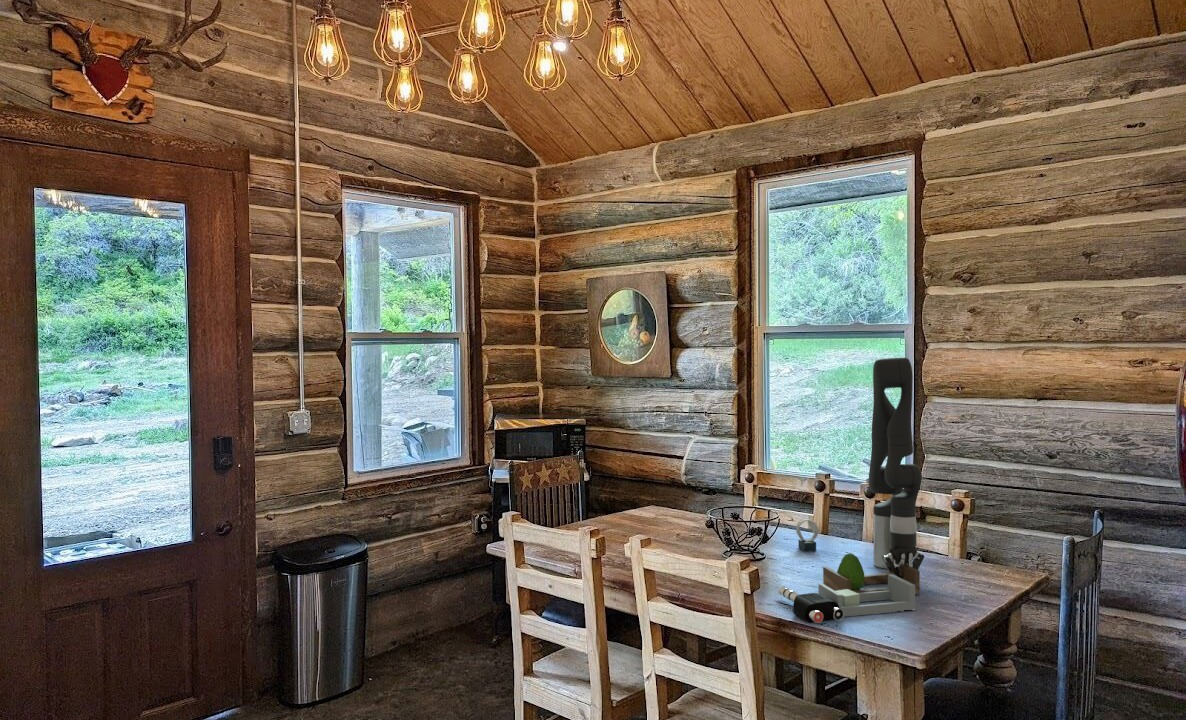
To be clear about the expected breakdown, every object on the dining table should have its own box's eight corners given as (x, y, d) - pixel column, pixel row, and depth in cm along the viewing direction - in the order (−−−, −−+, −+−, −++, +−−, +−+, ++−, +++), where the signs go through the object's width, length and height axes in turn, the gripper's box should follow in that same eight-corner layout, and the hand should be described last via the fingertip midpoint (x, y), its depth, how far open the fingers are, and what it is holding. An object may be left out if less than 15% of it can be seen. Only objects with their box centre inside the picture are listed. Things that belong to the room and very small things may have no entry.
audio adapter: (811, 607, 214) (762, 581, 238) (811, 628, 214) (762, 599, 238) (846, 603, 218) (795, 577, 241) (846, 623, 218) (795, 595, 241)
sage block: (847, 606, 231) (847, 588, 231) (859, 611, 226) (859, 593, 226) (833, 608, 229) (833, 591, 229) (845, 614, 224) (845, 596, 224)
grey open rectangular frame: (892, 597, 237) (892, 574, 237) (915, 610, 226) (915, 585, 226) (818, 604, 232) (818, 580, 232) (838, 617, 221) (837, 591, 221)
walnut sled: (892, 580, 254) (892, 558, 253) (919, 594, 240) (919, 570, 240) (823, 586, 249) (823, 563, 248) (846, 600, 235) (846, 576, 235)
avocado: (847, 598, 238) (847, 557, 237) (831, 590, 245) (831, 551, 245) (870, 595, 240) (870, 555, 240) (854, 587, 248) (853, 548, 247)
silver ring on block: (821, 550, 291) (821, 520, 291) (800, 552, 290) (800, 521, 289) (814, 547, 296) (814, 517, 296) (793, 548, 295) (793, 518, 295)
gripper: (916, 525, 251) (916, 581, 252) (876, 528, 248) (876, 584, 249) (930, 531, 244) (931, 588, 244) (889, 534, 241) (890, 592, 241)
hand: (903, 586), depth 247 cm, fingers closed on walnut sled
